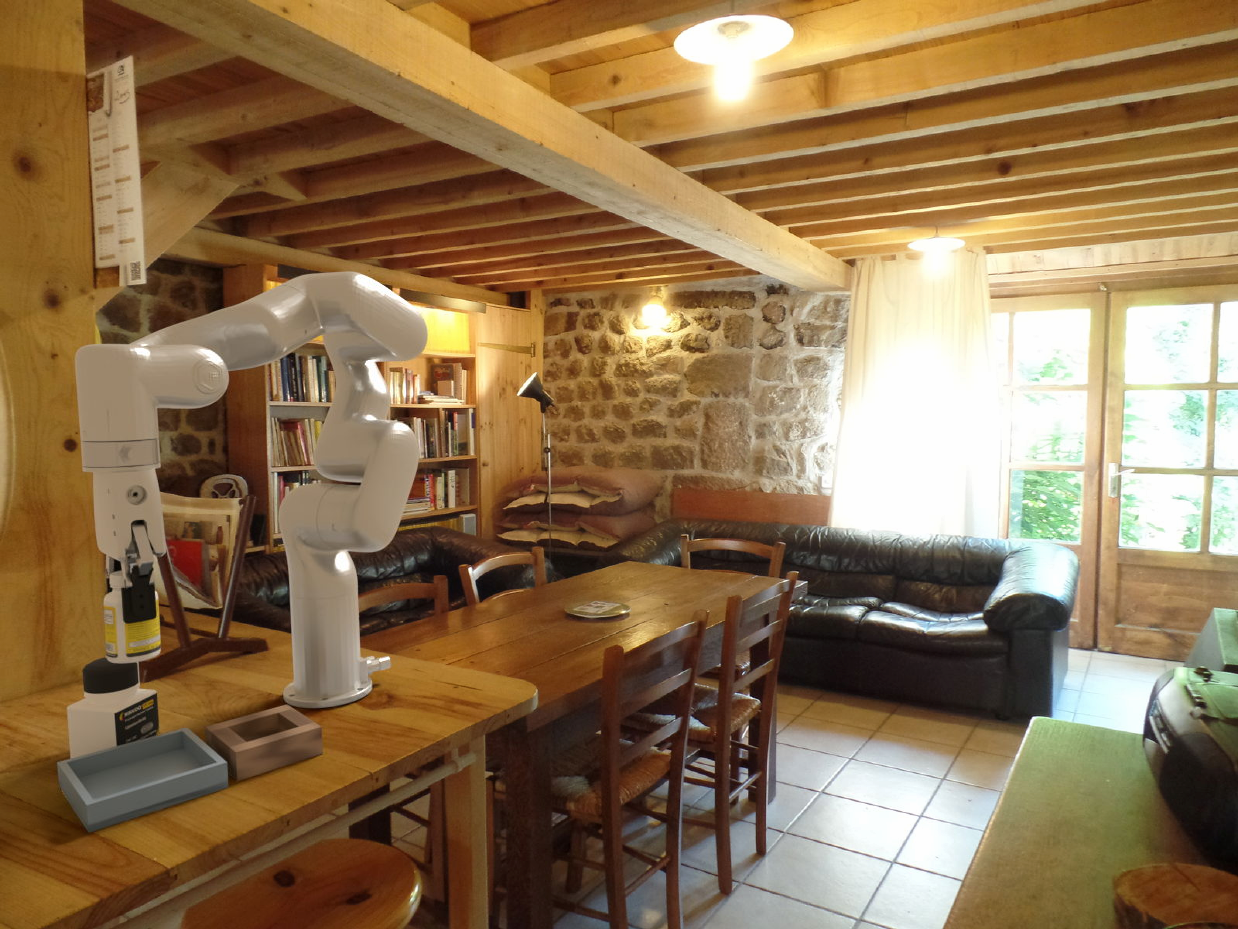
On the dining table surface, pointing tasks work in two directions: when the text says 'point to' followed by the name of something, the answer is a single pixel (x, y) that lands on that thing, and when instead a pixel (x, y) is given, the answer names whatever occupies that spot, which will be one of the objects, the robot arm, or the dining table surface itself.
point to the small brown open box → (264, 741)
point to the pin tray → (140, 777)
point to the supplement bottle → (128, 629)
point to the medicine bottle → (111, 709)
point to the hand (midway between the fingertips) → (132, 614)
